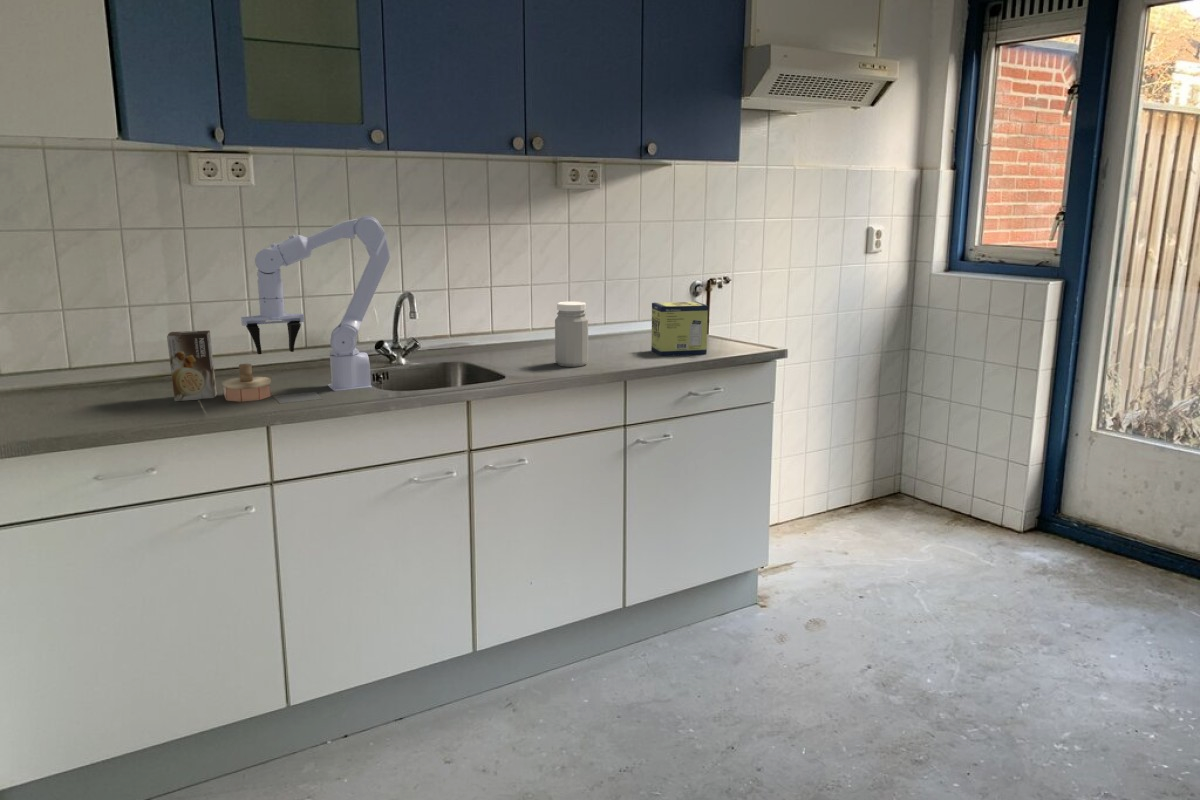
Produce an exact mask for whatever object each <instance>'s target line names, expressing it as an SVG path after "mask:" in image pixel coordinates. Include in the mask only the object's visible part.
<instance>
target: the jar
mask: <svg viewBox="0 0 1200 800" xmlns="http://www.w3.org/2000/svg"><path fill="white" fill-rule="evenodd" d="M586 309H587V303H586V302H583V301H572V300H571V301H570V300H569V301H559V302H558V303H556V310H558V311H557V313H556V314H557V316H556V318H555V319H554V353H555V355H554V360H555V363H556V364H557V365H558V366H560V367H567V368H568V367H569V368H570V367H571V368H573V367H574V368H575V367H576V368H577V367H582V366H585V365H586V364H587V363H588V361H589V318H588V317H587V315H586Z"/></svg>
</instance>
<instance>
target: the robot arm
mask: <svg viewBox="0 0 1200 800" xmlns="http://www.w3.org/2000/svg"><path fill="white" fill-rule="evenodd" d="M355 236H357V237H358V239H359V240H360V241H361V243H362V244H363V245H364V247H365V249H366V251H367V253H368V256H369V259H368V261H367V264H366V266H365V268H364V269H363V272H362V275H361V277H360V279H359V281H358V284H357V285H356V288H355V290H354V292H353V294H352V297H351V300H350V302H349V304H348V306H347V308H346V310H345V313H344V315H343V316H342V318H341V321H340V323H339V324H338V325H337V326H336V327H335V328H334V329H333V330H332V331H331V333H330V339H329V341H330V347H331V349H332V350H330V351H329V363H330V377H331V383H329V384H328V383H327V386H328V387H329V388H330V389H331V390H332V391H334V392H337V391H348V390H357V389H358V390H359V389H369V388H370V389H371V388H372V387H373V386H372V384H371V383H372V382H371V365H370V364H371V363H370V358H369V355H368V353H367V352H364V351H363V352H362V351H361V352H360V350H359V349H358V348H356V346H357V336H358V333H359V331H360V327H361V325H362V322H363V319H364V317H365V315H366V312H367V311H368V309H369V306H370V304H371V302H372V299H373V297H374V295H375V293H376V291H377V289H378V287H379V284H380V282H381V279H382V277H383V275H384V274H385V273H384V272H385V270H386V268H387V266H388V263H389V261H390V259H391V256H390V255H391V254H390V250H389V246H388V245H389V244H388V241H387V235H386V232H385V230H384V228H383V226H382V225H381V223H380V221H379V220H378V219H377V218H375V217H374V216H372V215H364V216H361V217H360V218H359V219H358V218H354V219H353V218H352V219H349V220H345V221H342V222H339V223H337V224H335V225H333V226H331V227H328V228H326V229H324V230H321V231H319V232H316V233H315V234H312V235H310V236H307V237H306V236H304V235H302V234H298V235H295V234H291V235H289V236H288V239H285V240H283V241H281V242H278V243H275V242H273V243H271V244H270V245H269V246H270V248H269V247H267V248H262V249H261V250H260V251H258V252H257V254H256V255H255V257H254V263H255V266H256V268H257V272H256V273H257V274H256V276H257V290H258V301H259V302H258V304H259V314H258V315H250V316H249V315H248V316H242V317H240V321H241V326H243V327H244V326H246V330H248V333H249V334H250V337H251V338H252V340H253V343H254V345H255V349H256V353H257V354H258V355H262V354H263V353H262V345H261V333H260V330H261V329H260V327H259V325H267V324H268V325H271V324H272V325H273V324H283V323H284V324H286V325H287V332H288V333H287V334H288V348H289V349H288V350H289V352H292V353H293V352H295V344H296V339H297V336H298V333H299V331H300V329H301V325H302V324H301V323H304V322H305V314H304V313H285V299H284V285H283V278H282V274H281V266H282V267H283V266H284V267H288V266H291V265H292V264H295V263H299V262H300V261H302V260H305V259H307V258H309V257H311V255H312V251H313V250H315V249H317V248H319V247H323V246H325V245H328V244H330V243H332V242H335V241H337V240H340V239H351V240H352V239H353V240H354V239H355V238H356V237H355Z"/></svg>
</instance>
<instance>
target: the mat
mask: <svg viewBox="0 0 1200 800" xmlns="http://www.w3.org/2000/svg"><path fill="white" fill-rule="evenodd" d="M272 396H273V398H274V400H276V401H277V403H278V404H279V405H280V404H289V403H300V402H308V401H309V402H310V401H319V400H324V398H322V396H320V395H319V394H318V393H317V392H316V391H312V392H311V391H310V392H309V391H308V392H299V393H290V394H289V393H288V394H281V395H280V394H278V395H272Z"/></svg>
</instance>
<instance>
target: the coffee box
mask: <svg viewBox="0 0 1200 800" xmlns="http://www.w3.org/2000/svg"><path fill="white" fill-rule="evenodd" d="M166 339H167V340H166V341H167V347H168V357H169V364H170V374H171V382H172V389H173V399H174V402H181V401H182V402H183V401H198V400H199V401H200V400H202V399H215V398H216V396H217V394H218V393H217V392H218V391H217V386H216V374H215V368H214V358H213V349H212V340H211V339H212V338H211V330H189V331H188V330H185V331H170V332H169V333H168V334H167V336H166Z"/></svg>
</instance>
